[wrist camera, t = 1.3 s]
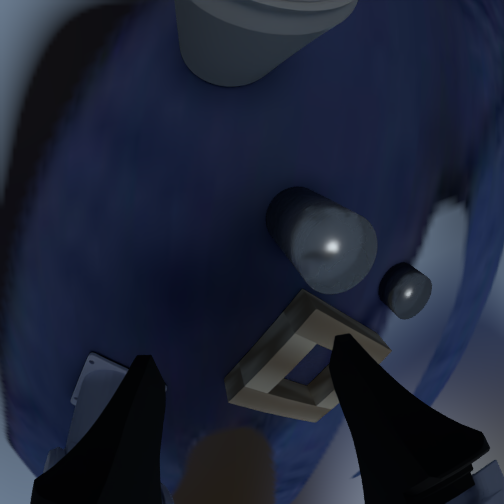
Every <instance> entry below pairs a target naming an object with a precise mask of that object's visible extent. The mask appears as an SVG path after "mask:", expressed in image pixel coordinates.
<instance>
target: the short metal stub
mask: <svg viewBox="0 0 504 504" xmlns="http://www.w3.org/2000/svg"><path fill="white" fill-rule="evenodd" d="M431 289H432V284H431V281H430V279H429V278H428V277H427V276H425V275H424V274H422V273H421V272H420V271H418V270H417V269H415V268H414V267H413V266H411V265H410V264H408V263H405V262H401V263H398V264H396V265H394V266H392V267H391V268H390V269H389V270H388V271H387V272H386V273H385V275H384V276H383V278H382V280H381V282H380V285H379V291H378V293H379V297H380V299H381V301H382V302H383V303H384V304H386V305H387V306H388V307H389V308H390V309H391V310H392V311H393V312H394V313H395V314H396V315H397V316H398V317H399V318H400V319H409V318H412V317H413V316H415V315H416V314H417V313H419V312H420V311H421V310H422V309H423V308H424V306H425V304H426V303H427V301H428V299H429V297H430V295H431Z"/></svg>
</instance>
